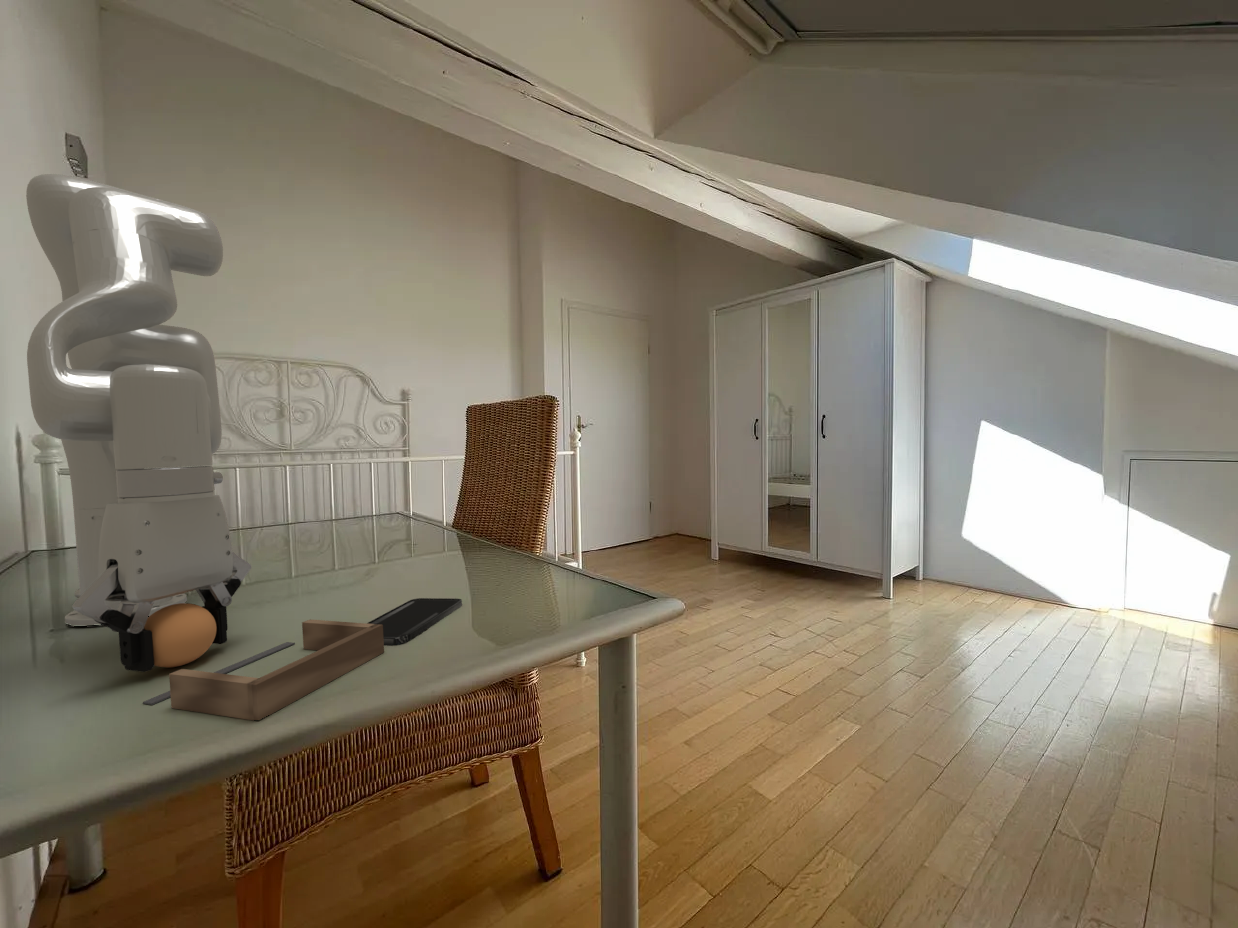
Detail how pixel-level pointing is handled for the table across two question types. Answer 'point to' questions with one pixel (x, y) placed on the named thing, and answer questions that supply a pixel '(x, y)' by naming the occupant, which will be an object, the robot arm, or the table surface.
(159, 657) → the brown egg
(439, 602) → the phone
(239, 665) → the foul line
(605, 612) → the table surface
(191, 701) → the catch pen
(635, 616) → the table surface
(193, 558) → the robot arm
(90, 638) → the table surface
